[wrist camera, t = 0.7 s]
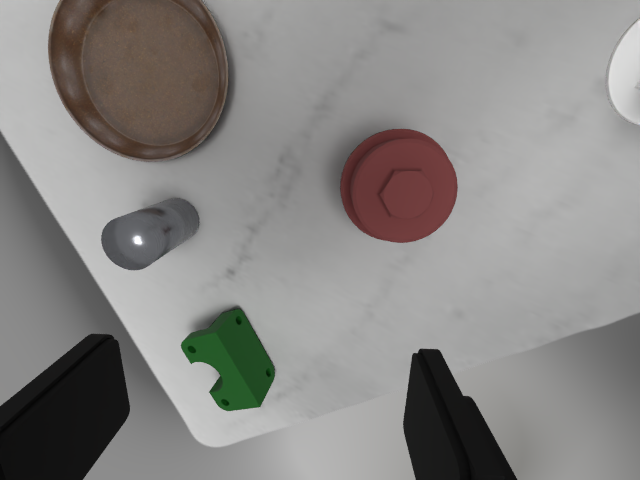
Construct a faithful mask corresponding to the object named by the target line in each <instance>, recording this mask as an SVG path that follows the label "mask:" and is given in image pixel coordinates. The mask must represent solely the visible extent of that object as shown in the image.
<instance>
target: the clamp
mask: <svg viewBox="0 0 640 480" xmlns="http://www.w3.org/2000/svg"><path fill="white" fill-rule="evenodd" d="M181 348H182V350H183V352H184V353H185V355H186V357H187V358H188V360H189V361H190V363H191V364H192V363H194V362H204V363H207V364H209V365H211V366H212V367H214V368H215V369H216V370H217V371H218V372H219V374H220V375H221V376H220V377H219V379H218V380H217V381H216V383H215V384H214V386H213V387H212V389H211V390H210V391H209V393H210V394H211V396H212V397H213V399H214V400H215V402H216V403H217V405H218V406H219V407H220V408H222V409H223V410H226V411H233V410H241V409H248V408H256V407H260V406H261V404H262V402H263V400H264V398H265V396H266V394H267V392H268V390H269V388H270V386H271V384H272V382H273V380H274V377H275V371H274V367H273V365H272V363H271V361H270V359H269V357H268V356H267V354H266V352H265V350H264V349H263V347H262V345H261V343H260V341H259V340H258V338H257V336H256V334H255V332H254V331H253V329H252V327H251V325H250V324H249V322H248V320H247V318H246V316H245V315H244V313H243V312H242V311H241V310H239V309H236V310H232V311H229V312H225V313H222V314H221V315H220V316H219V317H218V318H217V319H216V320H215V322H214V323H213V324H212V325H211V326H210V327H209V328H208V329H204V330H200V331H196V332H192V333H190V334H189V335H188V336H187V337H186V339H185V340H184V341H183V342H182V344H181Z"/></svg>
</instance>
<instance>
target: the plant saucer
mask: <svg viewBox="0 0 640 480" xmlns="http://www.w3.org/2000/svg"><path fill="white" fill-rule="evenodd" d="M48 55H49V64H50V70H51V74H52V78H53V81H54V84H55V87H56V90H57V92H58V94H59V97H60V99H61V101H62V103H63V105H64V106H65V108H66V110H67V111H68V113H69V114H70V116H71V117H72V118H73V120H74V121H75V122H76V124H77V125H78V126H79V127H80V128H81V129H82V130H83V131H84V132H85V133H86V134H87V135H88V136H89V137H90V138H91V139H93V140H94V141H95V142H96V143H98V144H99V145H101V146H102V147H104V148H105V149H107V150H109V151H111V152H113V153H115V154H117V155H120V156H122V157H125V158H128V159H132V160H137V161H145V162H158V161H166V160H170V159H174V158H177V157H179V156H182V155H184V154H186V153H188V152H189V151H191V150H193V149H194V148H195V147H197V146H198V145H199V144H200V143H201V142H202V141H203V140H204V139H205V138H206V137H207V136H208V135H209V134H210V132H211V131H212V129H213V128H214V126H215V125H216V123H217V121H218V119H219V117H220V115H221V113H222V110H223V107H224V104H225V100H226V95H227V89H228V62H227V55H226V50H225V46H224V43H223V39H222V36H221V34H220V31H219V29H218V26H217V24H216V22H215V20H214V18H213V17H212V15H211V13H210V12H209V10H208V9H207V7H206V6H205V4H204V3H203V2H202V0H60V1H59V3H58V5H57V7H56V9H55V11H54V14H53V17H52V20H51V25H50V30H49V39H48Z"/></svg>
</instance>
